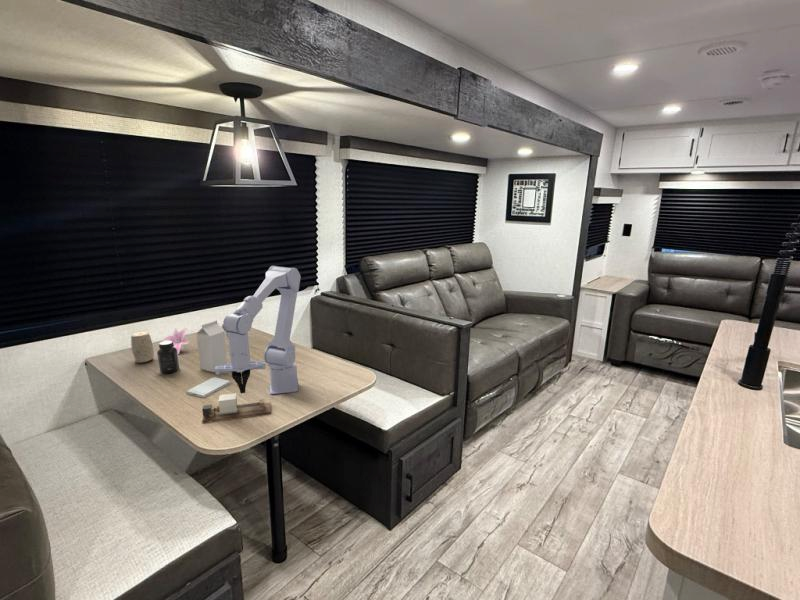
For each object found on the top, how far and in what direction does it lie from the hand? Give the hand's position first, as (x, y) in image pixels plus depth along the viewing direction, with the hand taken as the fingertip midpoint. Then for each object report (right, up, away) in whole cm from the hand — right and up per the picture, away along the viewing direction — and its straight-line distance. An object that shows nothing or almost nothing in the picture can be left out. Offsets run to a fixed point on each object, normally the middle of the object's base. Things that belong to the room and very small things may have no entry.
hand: (243, 391), depth 132 cm
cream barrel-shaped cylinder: (-56, +4, +40) cm, 69 cm away
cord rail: (-2, -7, +1) cm, 8 cm away
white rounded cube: (-4, -6, 0) cm, 8 cm away
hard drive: (-19, -3, +18) cm, 26 cm away
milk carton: (-25, +2, +35) cm, 43 cm away
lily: (-48, +7, +52) cm, 71 cm away
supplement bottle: (-40, +1, +31) cm, 51 cm away
